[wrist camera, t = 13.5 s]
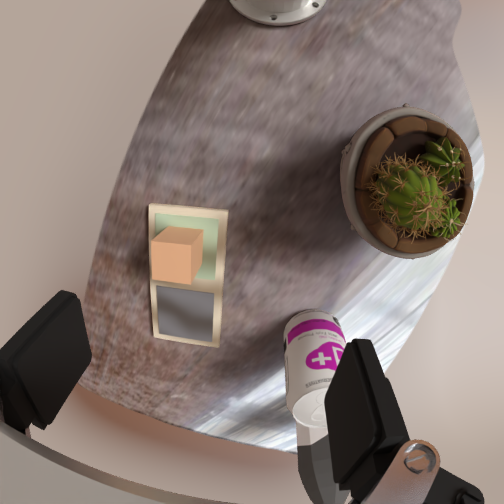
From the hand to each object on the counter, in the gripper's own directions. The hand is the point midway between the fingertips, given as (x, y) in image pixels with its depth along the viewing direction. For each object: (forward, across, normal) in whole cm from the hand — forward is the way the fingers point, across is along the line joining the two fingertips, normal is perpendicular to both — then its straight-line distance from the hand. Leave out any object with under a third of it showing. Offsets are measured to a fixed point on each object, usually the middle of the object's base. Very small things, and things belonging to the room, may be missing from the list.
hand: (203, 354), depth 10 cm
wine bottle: (+27, -15, +32) cm, 45 cm away
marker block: (+27, +8, +8) cm, 29 cm away
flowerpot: (+29, -15, -5) cm, 33 cm away
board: (+28, +7, +13) cm, 31 cm away
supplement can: (+28, -11, +18) cm, 35 cm away
